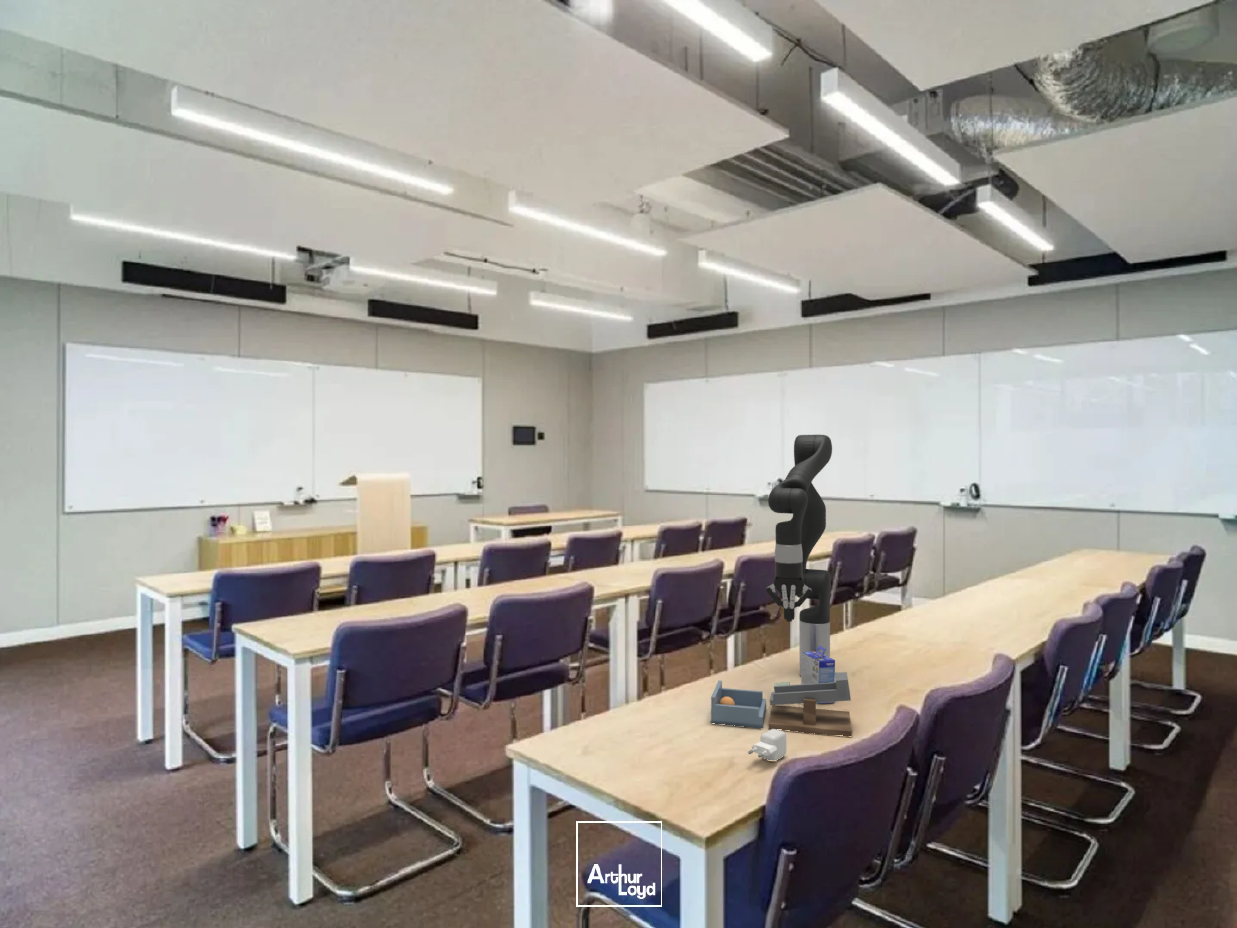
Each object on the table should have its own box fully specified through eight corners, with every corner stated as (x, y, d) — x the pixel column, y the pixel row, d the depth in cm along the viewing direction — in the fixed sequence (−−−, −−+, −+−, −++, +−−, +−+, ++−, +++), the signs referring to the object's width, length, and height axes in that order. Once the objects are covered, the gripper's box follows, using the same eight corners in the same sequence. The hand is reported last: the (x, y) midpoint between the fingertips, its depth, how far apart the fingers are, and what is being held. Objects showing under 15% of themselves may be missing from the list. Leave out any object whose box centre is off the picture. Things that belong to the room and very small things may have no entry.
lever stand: (772, 710, 195) (771, 682, 195) (849, 717, 190) (849, 688, 190) (768, 729, 182) (768, 699, 182) (851, 737, 176) (851, 706, 176)
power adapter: (763, 772, 157) (763, 746, 157) (744, 766, 161) (744, 740, 161) (789, 756, 166) (789, 731, 165) (770, 751, 169) (770, 726, 169)
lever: (774, 690, 199) (770, 668, 199) (849, 686, 194) (845, 663, 194) (770, 709, 185) (767, 685, 185) (851, 705, 179) (847, 680, 179)
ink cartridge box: (836, 703, 200) (836, 651, 200) (818, 705, 199) (818, 653, 199) (817, 691, 210) (817, 642, 210) (800, 693, 209) (800, 643, 208)
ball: (728, 712, 193) (717, 700, 194) (738, 702, 193) (727, 691, 193) (726, 717, 190) (715, 705, 190) (736, 707, 189) (726, 696, 189)
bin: (718, 705, 199) (718, 680, 199) (766, 709, 196) (766, 684, 195) (711, 724, 186) (711, 697, 185) (762, 728, 182) (762, 701, 182)
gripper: (813, 557, 202) (813, 618, 203) (765, 556, 206) (766, 616, 207) (813, 562, 195) (813, 625, 196) (763, 561, 199) (764, 623, 199)
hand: (789, 620), depth 201 cm, fingers closed
